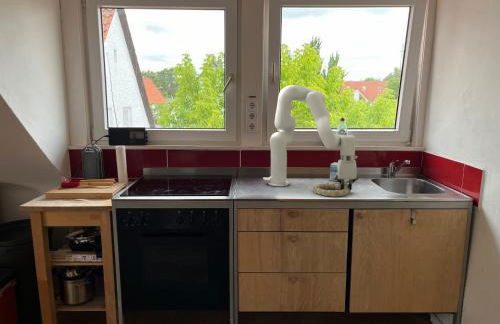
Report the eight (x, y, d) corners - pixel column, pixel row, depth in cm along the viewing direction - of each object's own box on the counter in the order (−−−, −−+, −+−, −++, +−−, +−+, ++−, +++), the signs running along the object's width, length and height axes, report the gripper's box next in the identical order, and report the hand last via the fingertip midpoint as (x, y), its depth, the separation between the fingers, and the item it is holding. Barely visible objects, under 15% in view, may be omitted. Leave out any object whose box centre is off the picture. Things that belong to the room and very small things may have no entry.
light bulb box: (329, 180, 219) (330, 163, 217) (333, 178, 224) (334, 162, 223) (345, 182, 213) (346, 165, 211) (349, 180, 218) (350, 163, 217)
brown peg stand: (337, 187, 200) (338, 168, 198) (334, 185, 207) (335, 166, 205) (349, 187, 200) (350, 168, 198) (346, 185, 207) (347, 166, 205)
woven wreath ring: (316, 197, 180) (316, 191, 180) (310, 188, 200) (310, 182, 199) (353, 197, 180) (354, 191, 179) (344, 187, 199) (344, 182, 199)
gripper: (360, 157, 190) (358, 189, 193) (330, 157, 190) (329, 189, 193) (364, 159, 183) (362, 192, 186) (333, 159, 183) (332, 192, 186)
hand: (345, 190), depth 190 cm, fingers closed on woven wreath ring, 3 cm apart
